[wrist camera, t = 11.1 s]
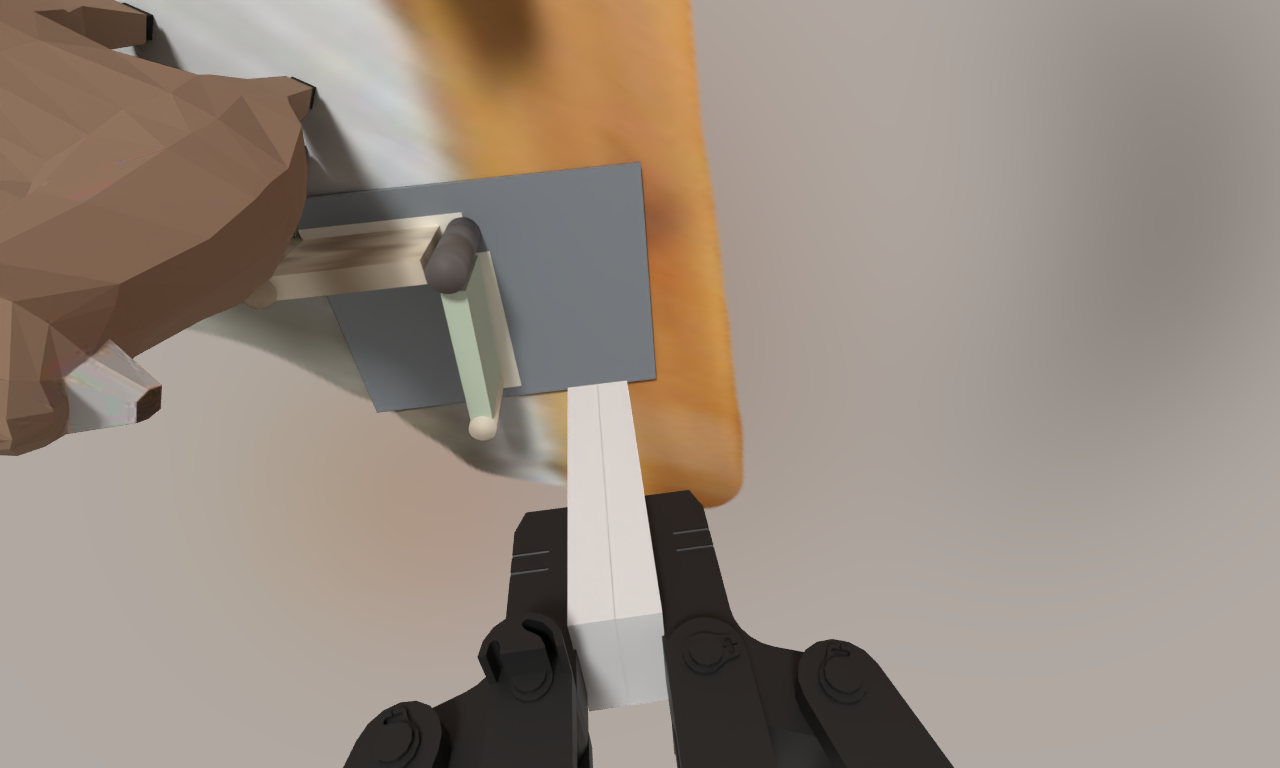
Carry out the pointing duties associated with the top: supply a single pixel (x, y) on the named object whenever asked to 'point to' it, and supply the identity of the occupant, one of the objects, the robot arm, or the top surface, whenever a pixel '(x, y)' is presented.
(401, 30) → the top surface
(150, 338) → the toy
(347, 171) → the top surface
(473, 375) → the pale green flat piece
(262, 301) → the fixed fence section
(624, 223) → the card
